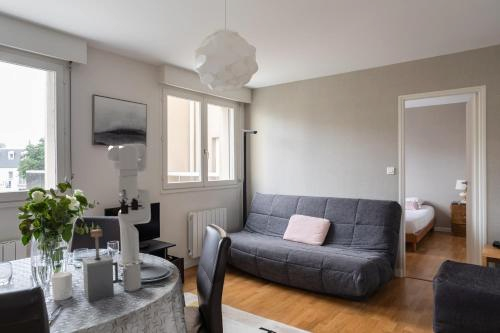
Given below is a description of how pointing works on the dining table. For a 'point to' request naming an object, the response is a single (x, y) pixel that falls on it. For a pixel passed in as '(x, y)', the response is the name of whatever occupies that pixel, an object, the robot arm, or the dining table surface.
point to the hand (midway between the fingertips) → (129, 212)
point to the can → (132, 276)
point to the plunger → (96, 234)
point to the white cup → (62, 285)
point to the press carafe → (99, 277)
